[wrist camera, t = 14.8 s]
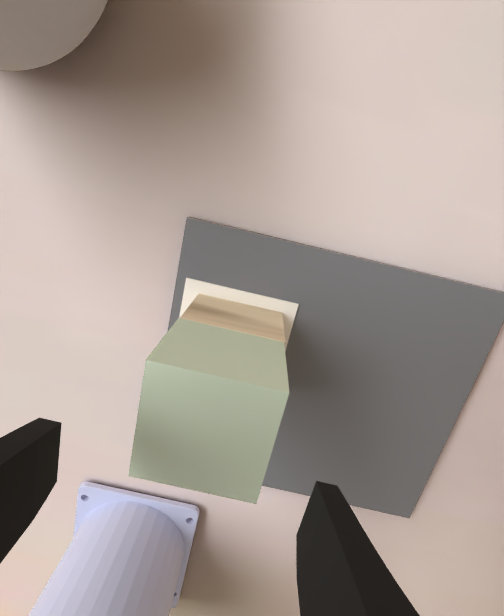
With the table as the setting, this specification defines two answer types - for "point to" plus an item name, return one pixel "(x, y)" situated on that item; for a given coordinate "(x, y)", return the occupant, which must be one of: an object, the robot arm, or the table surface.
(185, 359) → the sage block
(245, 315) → the maple block
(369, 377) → the baseplate
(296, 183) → the table surface
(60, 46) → the teacup
